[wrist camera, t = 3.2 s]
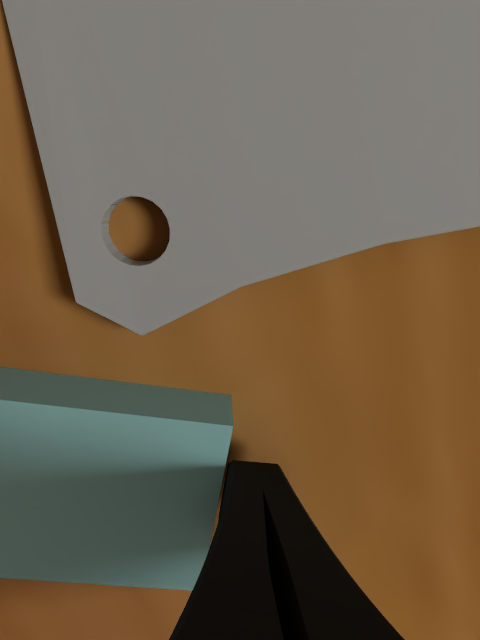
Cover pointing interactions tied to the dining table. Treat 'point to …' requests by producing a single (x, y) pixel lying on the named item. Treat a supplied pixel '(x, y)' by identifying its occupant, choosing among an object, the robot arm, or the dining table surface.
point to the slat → (108, 479)
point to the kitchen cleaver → (247, 135)
